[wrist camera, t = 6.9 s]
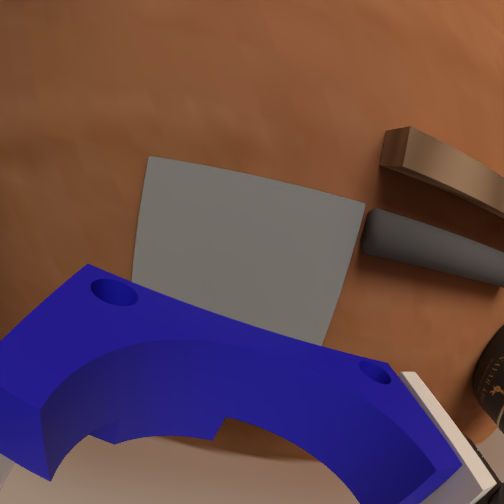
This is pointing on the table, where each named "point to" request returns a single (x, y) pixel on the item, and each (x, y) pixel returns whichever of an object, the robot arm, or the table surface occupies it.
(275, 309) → the mat
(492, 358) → the jar
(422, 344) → the table surface
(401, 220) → the rod
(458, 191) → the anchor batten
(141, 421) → the cable clip
